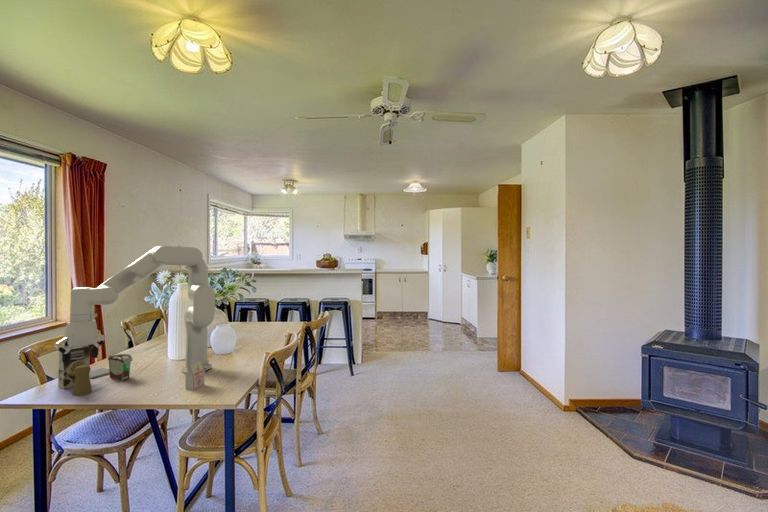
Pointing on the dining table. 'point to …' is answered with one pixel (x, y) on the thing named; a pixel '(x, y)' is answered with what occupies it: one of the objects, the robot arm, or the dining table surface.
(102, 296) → the robot arm
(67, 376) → the coffee box
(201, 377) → the red printed box
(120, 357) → the food container
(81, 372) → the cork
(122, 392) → the dining table surface
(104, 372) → the slate coaster
